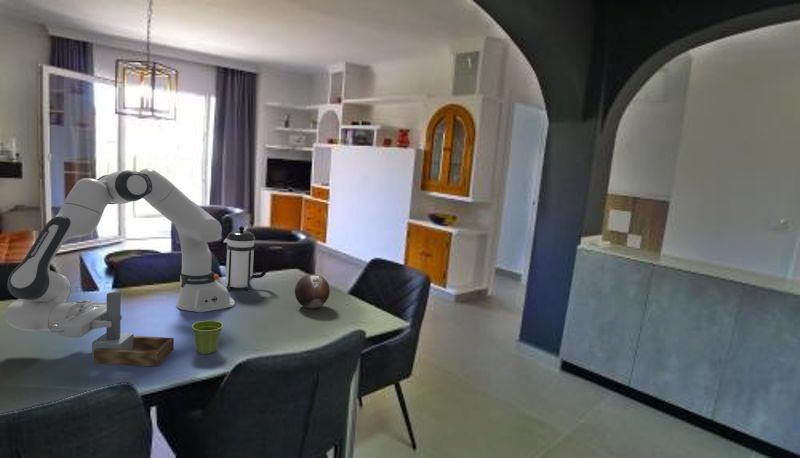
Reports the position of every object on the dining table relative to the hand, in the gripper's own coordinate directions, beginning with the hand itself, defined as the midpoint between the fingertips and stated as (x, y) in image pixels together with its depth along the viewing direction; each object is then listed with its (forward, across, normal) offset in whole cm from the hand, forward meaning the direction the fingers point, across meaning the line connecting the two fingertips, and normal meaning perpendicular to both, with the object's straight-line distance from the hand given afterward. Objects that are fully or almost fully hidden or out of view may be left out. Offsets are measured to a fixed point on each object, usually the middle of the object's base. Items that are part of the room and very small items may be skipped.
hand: (116, 320), depth 139 cm
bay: (+6, 0, +11) cm, 12 cm away
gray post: (-1, 0, +11) cm, 11 cm away
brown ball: (+53, +57, +11) cm, 79 cm away
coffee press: (+17, +79, +11) cm, 82 cm away
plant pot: (+25, +7, +11) cm, 28 cm away
